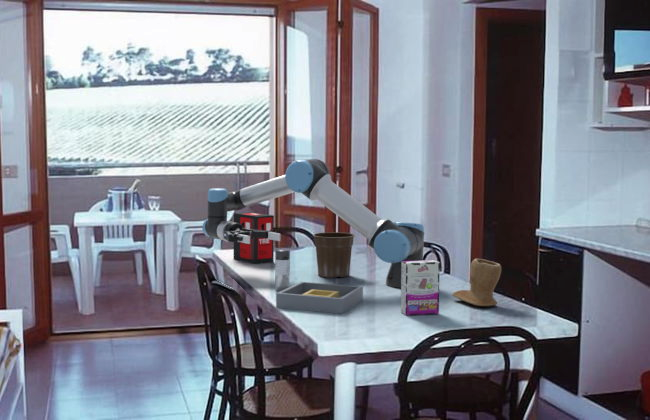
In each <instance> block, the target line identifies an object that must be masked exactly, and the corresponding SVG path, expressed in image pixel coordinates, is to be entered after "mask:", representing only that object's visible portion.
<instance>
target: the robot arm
mask: <svg viewBox="0 0 650 420" xmlns="http://www.w3.org/2000/svg"><path fill="white" fill-rule="evenodd" d="M292 193H297V194H298V193H299V194H302V195H304V196H305V197H306V198H307V199H309V200H310V201H318V202H319V203H320V204H321V205H323V206H325V208H327V209H328V210H329V211H331V212H332V213H334V214H335V215H337V217H339V219H341V220H342V221H344V222H345V223H347V224H348V225H349V226H350V227H352V228H353V229H354V230H355V231H357V232H358V233H359V234H360V235H362V236H363V237H365V238H366V239H367V244H368V245H369V247H370V248H372V249H373V250H374V253H375V254H376V256H377V257H378V258H379V259H380V260H381V261H382V262H385V263H389V264H390V267H389V268H388V272H387V275H386V278H385V283H386V284H385V285H387V286H388V287H393V288H397V289H398V288H399V289H401V264H402V261H422V260H424V244H425V243H424V242H425V241H424V240H425V239H424V238H425V227H424V225H423V224H422V223H415V222H401V221H399V222H398V221H397V222H396V221H395V222H393V221H392V220H390V219H389V218H387V219H382V218H381V217H379V216H378V215H377V214H375V213H374V212H373V211H372V210H371V209H369V208H367V206H366V205H364V204H362V203H361V202H360V201H358V200H357V199H356V198H354V197H353V196H352V195H351V194H349V193H348V192H347V191H345V190H344V189H342V187H340V186H339V185H337V184H336V183H335V182H334V181H333V180H332V175H331V172H330V168H329V166H328V165H327V164H326V162H324V161H323V160H320V159H317V158H312V159H308V158H307V159H303V158H302V159H301V158H300V159H297V160H294V161H292V162H291V163H290V164H289V165H288V166H287V169H286V170H285V174H283V175H280V176H278V177H277V176H276V177H274V178H271V179H268V180H265V181H262V182H259V183H255V184H253V185H252V184H251V185H248V186H246V187H243V188H240V189H237V190H233V191H228V190H227V188H222V187H221V188H220V187H217V188H215V187H213V188H209V189H208V191H207V219H205V220H204V221H203V224H202V226H201V229H202V232H203V234H204V235H205V236H206V237H209V238H211V239H216V240H219V241H220V240H221V241H225V243H228V242H230V243H232V244H234V243H238V242H242V243H246V244H250V239H253V238H268V239H270V240H274V242H275V241H276V242H281V235H282V234H281V233H279V232H278V233H277V232H275V230H274V231H272V230H270V231H265V230H255V229H246V228H244V227H243V226H242V225H241V224H239V223H235V222H234V221H229V220H228V212H233V211H240V210H243V209H245V208H247V207H251V206H254V205H257V204H261V203H263V202H267V201H270V200H274V199H277V198H279V197H283V196H287V195H290V194H292ZM250 234H251V237H250Z"/></svg>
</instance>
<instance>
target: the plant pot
mask: <svg viewBox="0 0 650 420" xmlns="http://www.w3.org/2000/svg"><path fill="white" fill-rule="evenodd" d="M312 237H313V239H314V245H315V251H316V253H315V254H316V263H317V275H318V276H319V277H322V278H329V279H337V278H338V277H339V278H347V277H348V276H349V277H350V269H351V259H352V250H353V245H354V237H356V235H355V234H354V233H351V232H339V231H338V232H337V231H336V232H335V231H334V232H331V231H329V232H316V233H313V234H312Z"/></svg>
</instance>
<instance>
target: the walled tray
mask: <svg viewBox="0 0 650 420" xmlns="http://www.w3.org/2000/svg"><path fill="white" fill-rule="evenodd" d="M363 289H364V287H363V286H357V285H347V284H333V283H323V282H320V283H319V282H311V281H310V282H307V281H299V282H297V283H296V284H294V285H290V286H289V288H287V289H284V290H282V291H277V292H276V294H275V295H276V296H275V297H276V299H275V307H276V308H279V309H280V308H281V309H291V310H302V311H311V312H321V313H323V312H324V313H333V314H343V313H345V312H347V311H348V310H350V309H351V308H353V307H354V306H356V305H358V304H359V303H360V302H362V301H363V298H364V297H363V295H364V290H363Z"/></svg>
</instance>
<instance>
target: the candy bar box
mask: <svg viewBox="0 0 650 420" xmlns="http://www.w3.org/2000/svg"><path fill="white" fill-rule="evenodd" d="M440 263H441V262H440V261H438V260H435V259H431V260H430V259H429V260H427V259H426V260H424V259H423V260H422V261H402V264H401V288H400V292H401V293H400V294H401V295H400V313H401V314H403V315H405V316H423V315H424V316H427V315H439V313H440V271H441V270H440Z"/></svg>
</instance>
